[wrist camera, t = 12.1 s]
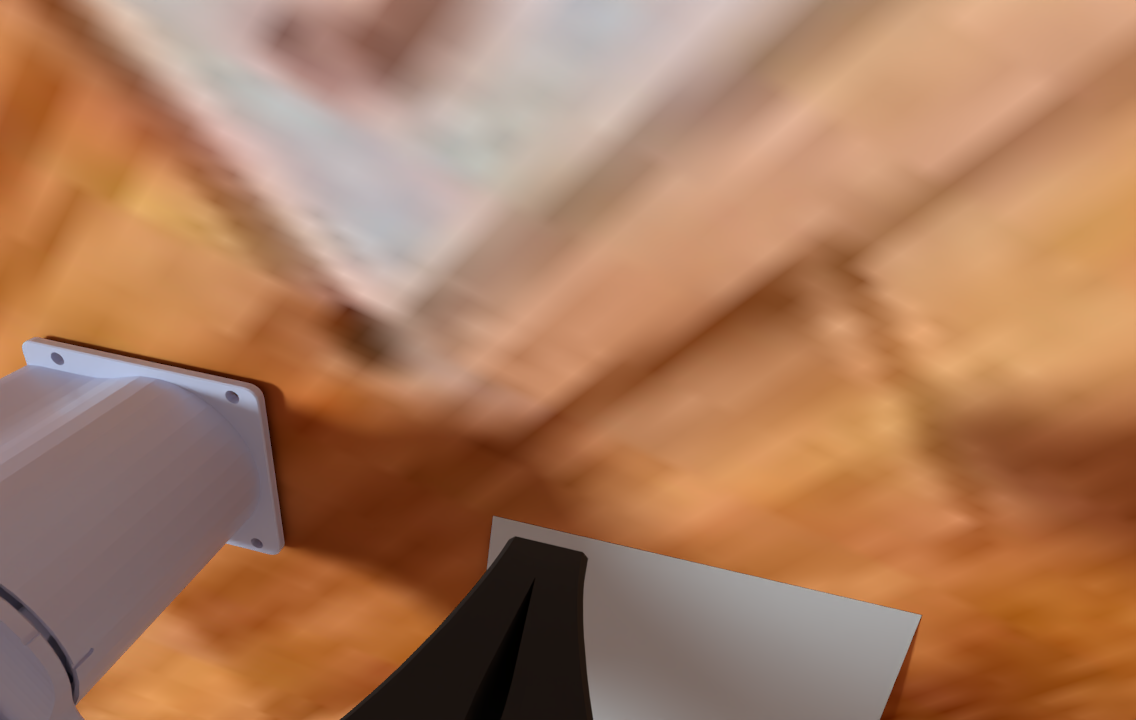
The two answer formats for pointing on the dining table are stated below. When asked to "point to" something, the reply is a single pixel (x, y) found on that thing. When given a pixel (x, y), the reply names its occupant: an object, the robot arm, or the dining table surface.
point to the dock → (722, 639)
